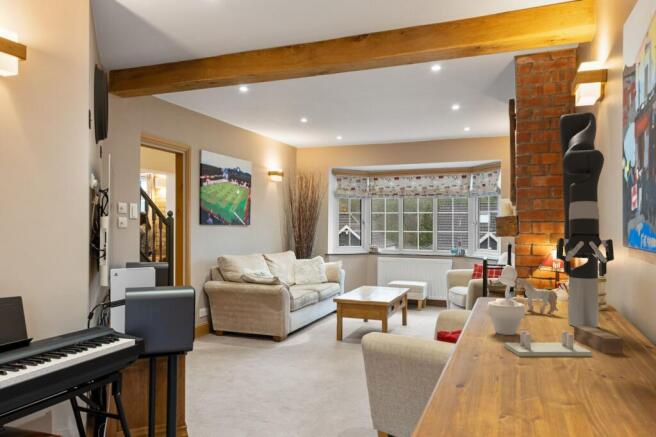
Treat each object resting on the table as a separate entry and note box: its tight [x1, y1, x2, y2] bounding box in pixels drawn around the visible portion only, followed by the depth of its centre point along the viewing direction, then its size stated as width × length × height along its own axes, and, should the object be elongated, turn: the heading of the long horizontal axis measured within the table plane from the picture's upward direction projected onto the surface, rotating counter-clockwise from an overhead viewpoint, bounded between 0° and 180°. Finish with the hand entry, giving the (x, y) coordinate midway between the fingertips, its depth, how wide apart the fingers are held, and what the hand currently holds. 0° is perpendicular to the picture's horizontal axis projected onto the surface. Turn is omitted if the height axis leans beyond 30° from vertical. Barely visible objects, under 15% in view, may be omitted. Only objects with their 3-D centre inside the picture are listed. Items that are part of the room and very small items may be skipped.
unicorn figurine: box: [514, 278, 559, 315], centre depth 193 cm, size 7×20×13 cm, turn 51°
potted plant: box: [486, 261, 526, 336], centre depth 154 cm, size 13×12×25 cm
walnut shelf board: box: [573, 326, 624, 354], centre depth 138 cm, size 16×5×4 cm, turn 0°
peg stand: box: [503, 330, 593, 357], centre depth 132 cm, size 10×20×5 cm, turn 91°
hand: (584, 275), depth 132 cm, fingers open, 8 cm apart
